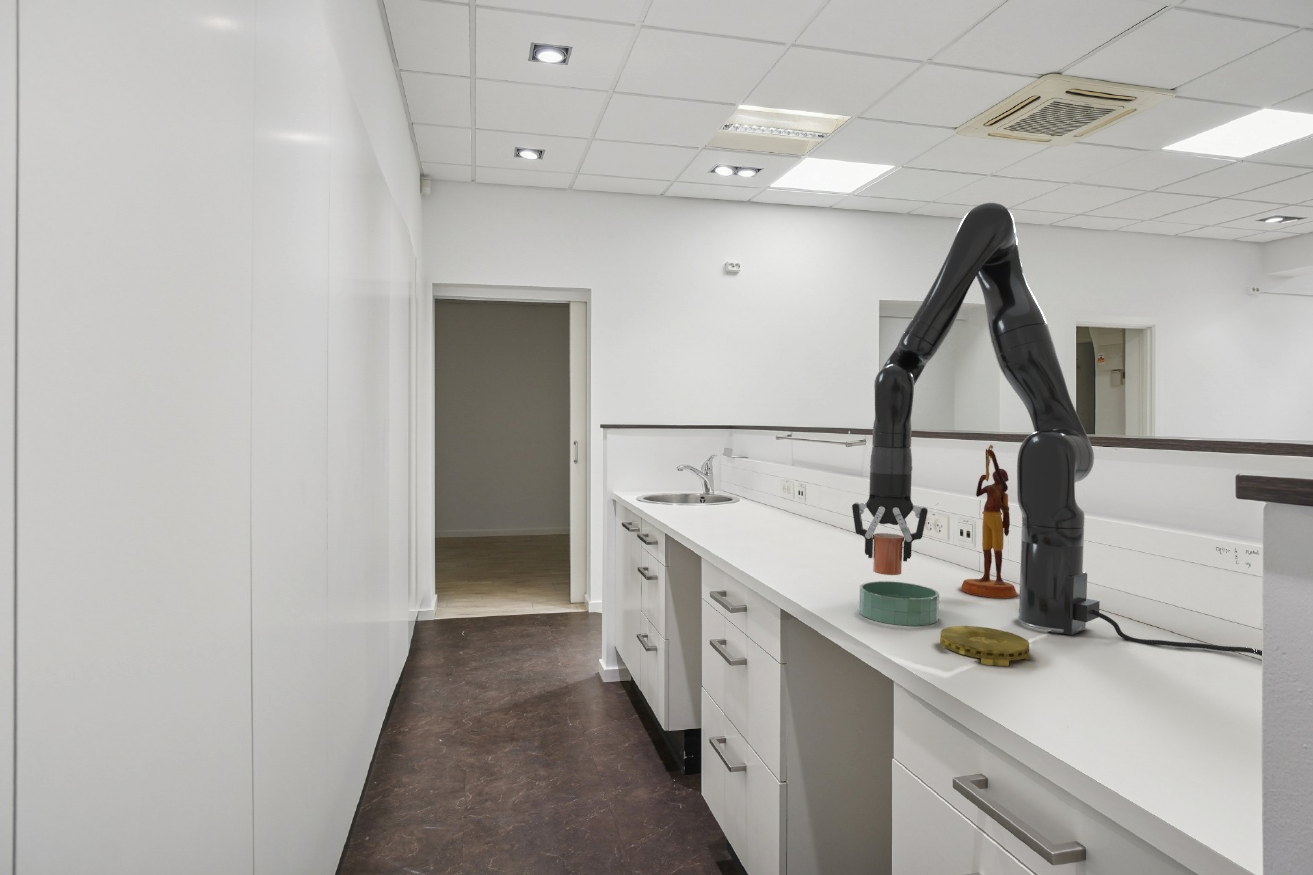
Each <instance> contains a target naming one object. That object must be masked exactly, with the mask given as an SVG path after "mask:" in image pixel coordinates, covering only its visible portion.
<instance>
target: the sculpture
mask: <svg viewBox="0 0 1313 875" xmlns="http://www.w3.org/2000/svg"><path fill="white" fill-rule="evenodd" d="M993 449H994V446H993V445H992V444H989V446H988V447H987V448H985V474H981V475H980V477H979V479H978V483H977V487H976V492H975V496H976V497H977V498H978V497H981V496H983V495H984V494H986V501H985V503H984V506H983V511H982V513H981V514H982V528H981V529H982V531H981V533H982V536H981V537H982V538H981V540H982V541H981V542H982V543H981V547H982V552H983V575H982V576H981V578H967V579H964V580H963V582H962V583H961V586H960V588H961V591H962V592H964V593H967V594H969V595H973V596H979V597H985V598H992V599H1010V598H1011V599H1012V598H1015V597H1016V596H1018V592H1017V589H1016V587H1015V586H1014V584H1013V583H1010V582H1006V581H1004V580H1003V578H1002V566H1003V550H1004V536H1005V537H1008V536H1009V534H1010V526H1011V520H1010V506H1009V494H1008V493H1007V491H1008V489H1009V486H1008V484H1007V482H1009V480H1010V479H1009V475H1008V472H1007V470H1005V469H1003V468H1001V467H1000V465H999V463H998V459H997V455H996V454H995V452H994V450H993ZM991 461H992V465H993V468H994V471H993V472H992V479H993V483H992V484H989V485H988V484H987V485H985V486H983V483H984V481H986V482H987V483H988V482H989V479H990V463H991ZM992 549H993V553H992ZM992 554H994V563H995V574H996V575H995V576H996V578H995V579H991V567H992V564H993V563H992V562H993V555H992Z"/></svg>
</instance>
